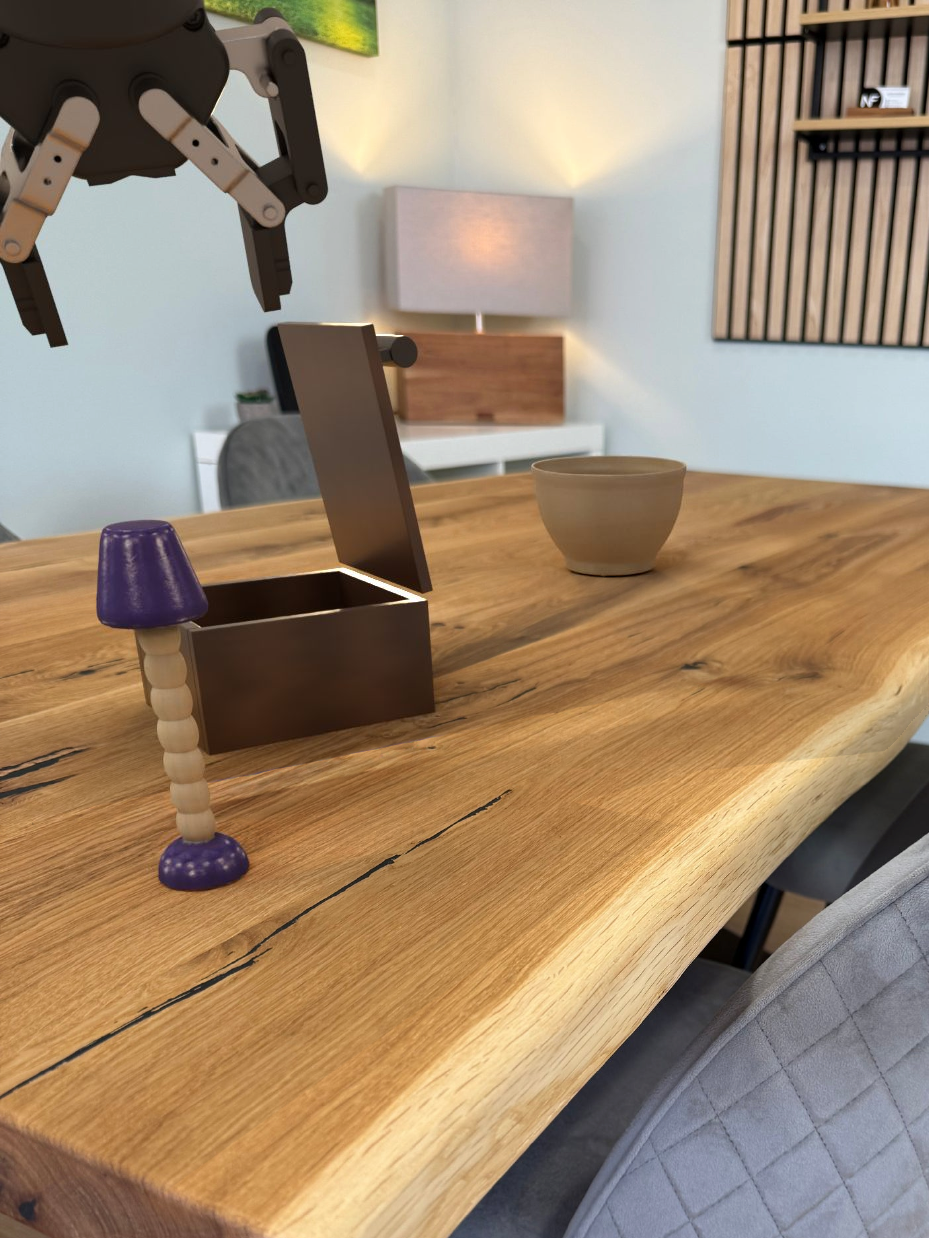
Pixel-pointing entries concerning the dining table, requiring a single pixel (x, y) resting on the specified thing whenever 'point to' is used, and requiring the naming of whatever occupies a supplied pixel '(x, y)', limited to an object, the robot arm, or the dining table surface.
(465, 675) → the dining table surface
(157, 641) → the toy lamp
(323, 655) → the chest
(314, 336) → the lid
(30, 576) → the dining table surface
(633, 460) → the planter bowl
